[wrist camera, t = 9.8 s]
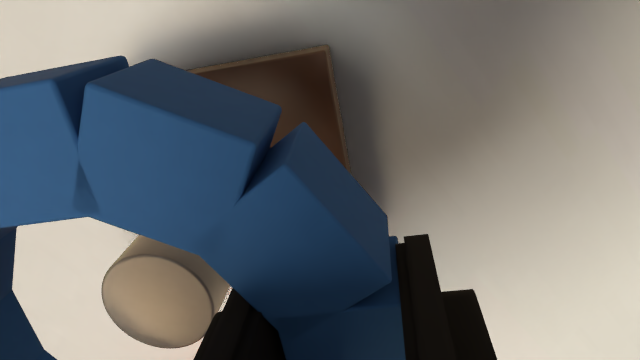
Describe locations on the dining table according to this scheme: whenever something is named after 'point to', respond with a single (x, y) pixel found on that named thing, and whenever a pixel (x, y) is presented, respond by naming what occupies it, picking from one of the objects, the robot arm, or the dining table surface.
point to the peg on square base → (190, 269)
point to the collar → (200, 199)
